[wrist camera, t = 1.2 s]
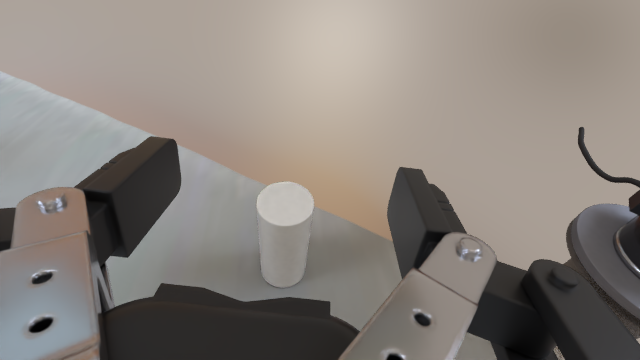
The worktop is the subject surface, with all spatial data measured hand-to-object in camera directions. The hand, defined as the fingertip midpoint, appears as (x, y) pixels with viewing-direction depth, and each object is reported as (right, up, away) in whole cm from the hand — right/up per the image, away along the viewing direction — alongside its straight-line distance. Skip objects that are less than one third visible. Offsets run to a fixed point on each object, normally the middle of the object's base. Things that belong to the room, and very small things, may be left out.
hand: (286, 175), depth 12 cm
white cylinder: (-2, -9, +20) cm, 22 cm away
